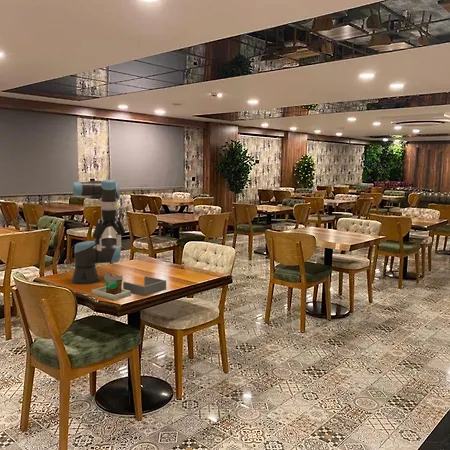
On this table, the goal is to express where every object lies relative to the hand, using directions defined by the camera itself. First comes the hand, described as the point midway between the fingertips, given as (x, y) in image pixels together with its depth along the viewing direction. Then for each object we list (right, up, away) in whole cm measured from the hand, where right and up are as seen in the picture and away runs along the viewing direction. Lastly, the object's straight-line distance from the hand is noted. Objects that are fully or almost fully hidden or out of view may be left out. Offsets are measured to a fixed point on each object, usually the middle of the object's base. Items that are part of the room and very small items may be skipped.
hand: (109, 248), depth 235 cm
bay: (+18, -23, +7) cm, 30 cm away
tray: (+2, -24, -4) cm, 25 cm away
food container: (+2, -24, -4) cm, 24 cm away
